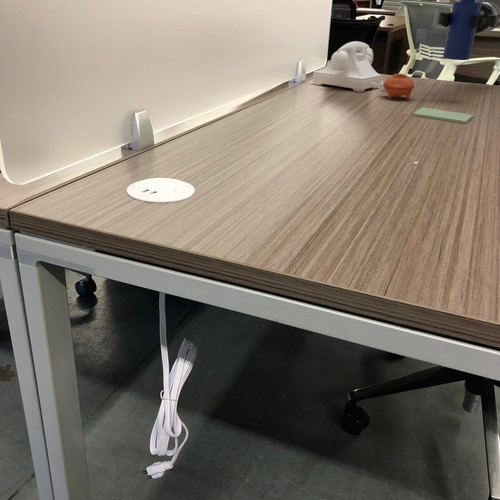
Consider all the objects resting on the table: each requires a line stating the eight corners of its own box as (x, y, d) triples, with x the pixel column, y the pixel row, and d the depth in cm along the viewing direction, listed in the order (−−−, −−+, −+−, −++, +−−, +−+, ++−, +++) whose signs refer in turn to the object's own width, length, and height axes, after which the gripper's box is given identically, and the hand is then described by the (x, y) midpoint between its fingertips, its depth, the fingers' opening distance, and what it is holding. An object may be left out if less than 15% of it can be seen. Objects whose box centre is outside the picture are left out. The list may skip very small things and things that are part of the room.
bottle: (471, 58, 131) (488, -16, 123) (465, 60, 126) (482, -17, 118) (446, 56, 134) (460, -17, 126) (439, 58, 129) (454, -17, 121)
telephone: (347, 77, 166) (352, 35, 160) (406, 85, 154) (414, 41, 148) (303, 85, 149) (306, 40, 143) (366, 96, 137) (372, 47, 131)
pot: (415, 96, 138) (419, 71, 134) (407, 107, 133) (410, 82, 129) (387, 91, 141) (389, 67, 137) (377, 102, 136) (380, 78, 132)
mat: (473, 117, 118) (473, 114, 118) (465, 123, 112) (465, 121, 112) (422, 109, 124) (422, 107, 124) (412, 115, 118) (412, 113, 118)
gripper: (514, 35, 136) (497, 40, 119) (441, 30, 145) (416, 34, 128) (522, 4, 132) (505, 5, 115) (446, 1, 142) (421, 1, 125)
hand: (458, 20), depth 122 cm, fingers closed on bottle, 6 cm apart
